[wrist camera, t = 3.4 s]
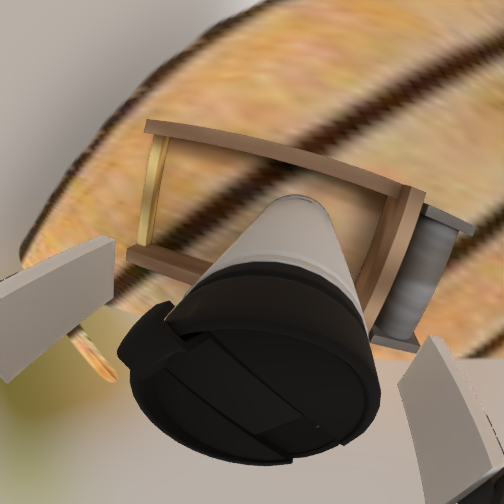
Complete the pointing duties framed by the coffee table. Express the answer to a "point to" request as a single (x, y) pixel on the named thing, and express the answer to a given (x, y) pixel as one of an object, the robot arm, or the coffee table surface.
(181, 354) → the travel mug
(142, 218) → the bay
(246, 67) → the coffee table surface
